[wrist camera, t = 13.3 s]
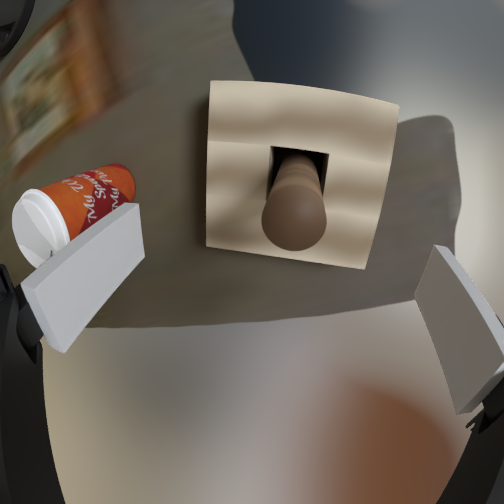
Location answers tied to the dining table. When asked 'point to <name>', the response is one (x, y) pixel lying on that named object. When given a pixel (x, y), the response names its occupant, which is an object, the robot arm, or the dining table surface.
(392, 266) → the dining table surface
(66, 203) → the coffee cup
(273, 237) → the walnut peg
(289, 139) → the maple block
